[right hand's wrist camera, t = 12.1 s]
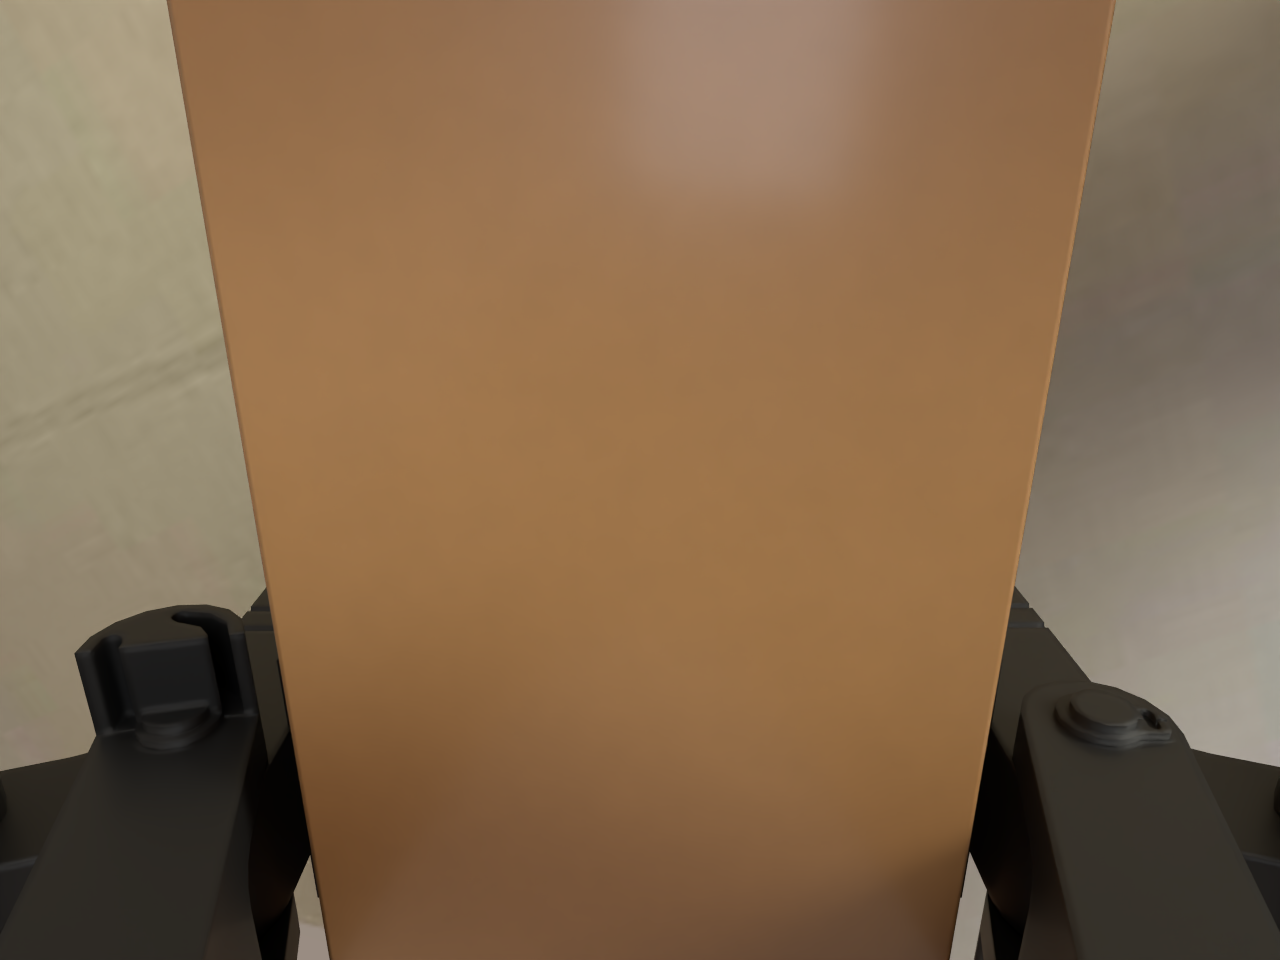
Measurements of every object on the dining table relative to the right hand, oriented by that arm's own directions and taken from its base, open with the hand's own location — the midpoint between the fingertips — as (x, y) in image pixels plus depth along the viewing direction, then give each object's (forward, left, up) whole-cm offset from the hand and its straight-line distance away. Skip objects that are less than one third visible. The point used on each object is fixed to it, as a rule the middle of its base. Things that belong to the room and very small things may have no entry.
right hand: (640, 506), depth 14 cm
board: (-21, -4, -1) cm, 22 cm away
